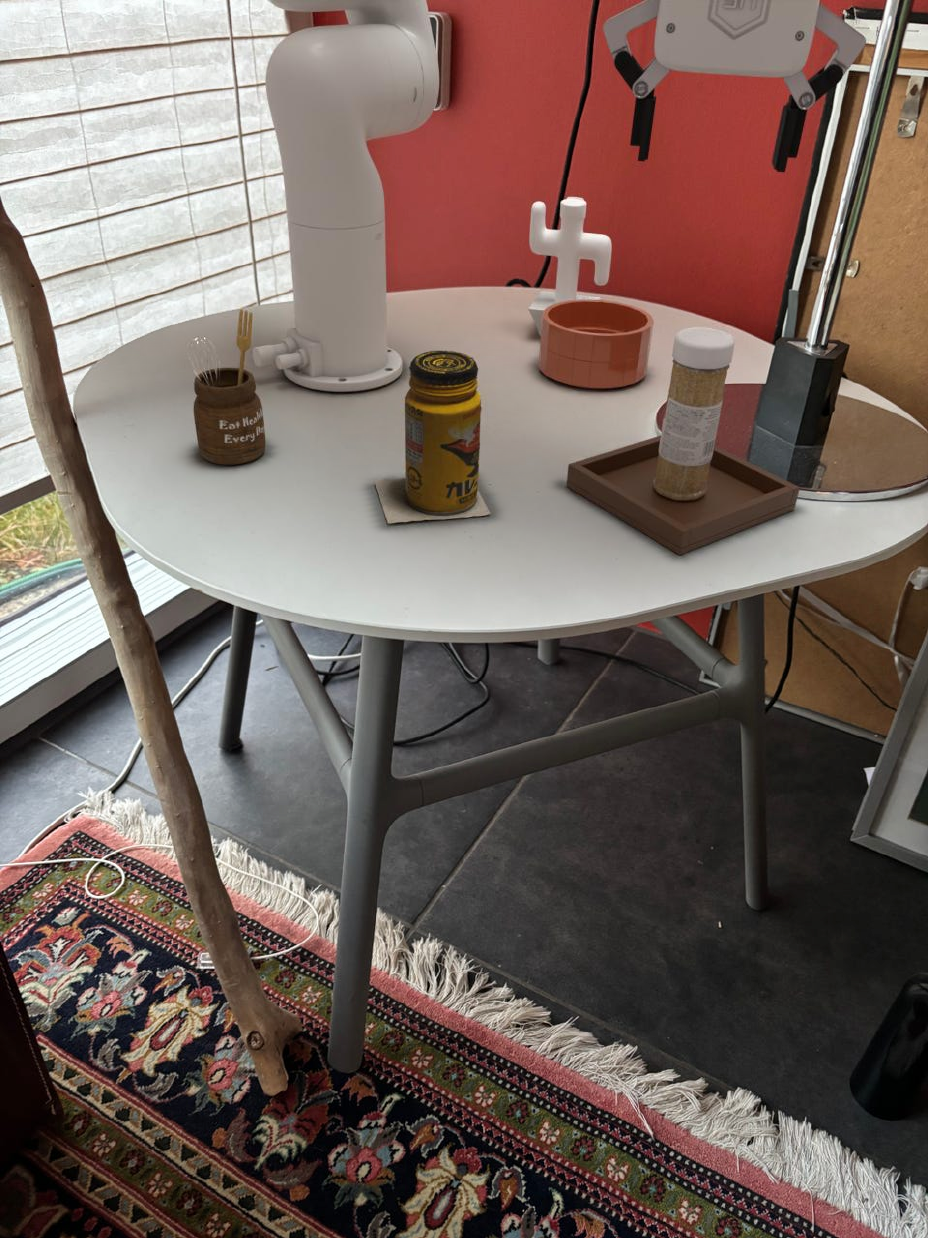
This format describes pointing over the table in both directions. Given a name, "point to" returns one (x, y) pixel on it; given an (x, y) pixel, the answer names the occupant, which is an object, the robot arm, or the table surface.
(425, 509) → the condiment
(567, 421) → the table surface
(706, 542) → the tray
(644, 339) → the bowl
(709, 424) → the sprinkles bottle
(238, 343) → the utensil holder
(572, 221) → the figurine
